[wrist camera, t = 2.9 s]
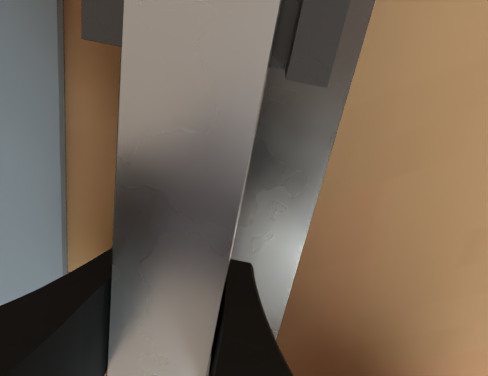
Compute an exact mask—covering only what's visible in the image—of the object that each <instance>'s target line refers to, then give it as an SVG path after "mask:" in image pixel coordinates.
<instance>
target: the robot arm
mask: <svg viewBox="0 0 488 376" xmlns="http://www.w3.org/2000/svg"><path fill="white" fill-rule="evenodd" d="M112 260H113V248H111V249H109V250H108V251H106V252H104V253H103V254H101V255H99V256H98V257H96V258H94V259H93V260H91V261H89V262H88V263H86V264H84V265H82V266H81V267H79V268H77V269H75V270H74V271H72V272H70V273H68V274H66V275H64V276H62V277H60V278H58V279H56V280H55V281H53V282H51V283H49V284H47V285H45V286H43V287H41V288H39V289H37V290H35V291H33V292H31V293H28V294H26V295H24V296H22V297H20V298H17V299H15V300H12V301H10V302H8V303H5V304H3V305H1V306H0V376H104V375H105V373H106V372H107V370H108V350H109V327H110V305H111V283H112ZM209 376H293V374H292V372H291V370H290V368H289V367H288V365H287V363H286V361H285V359H284V357H283V355H282V353H281V351H280V349H279V346H278V344H277V342H276V340H275V337H274V335H273V333H272V330H271V328H270V325H269V323H268V320H267V318H266V315H265V312H264V309H263V306H262V303H261V300H260V297H259V293H258V290H257V286H256V282H255V277H254V270H253V266H252V264H251V263H248V262H243V261H238V260H234V259H230V264H229V269H228V273H227V277H226V282H225V287H224V292H223V297H222V302H221V307H220V312H219V317H218V322H217V327H216V332H215V337H214V342H213V347H212V352H211V360H210V368H209Z"/></svg>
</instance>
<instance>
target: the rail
mask: <svg viewBox="0 0 488 376" xmlns="http://www.w3.org/2000/svg"><path fill="white" fill-rule="evenodd" d="M281 4H282V0H124V14H123V36H122V59H121V81H120V104H119V126H118V148H117V171H116V193H115V215H114V238H113V260H112V283H111V305H110V327H109V350H108V372H107V376H207V374H208V369H209V364H210V359H211V352H212V347H213V342H214V337H215V332H216V327H217V322H218V317H219V312H220V307H221V302H222V297H223V292H224V287H225V282H226V277H227V273H228V269H229V264H230V259H231V254H232V249H233V244H234V239H235V234H236V229H237V224H238V219H239V214H240V209H241V204H242V199H243V194H244V189H245V184H246V179H247V174H248V169H249V164H250V159H251V154H252V149H253V144H254V139H255V134H256V129H257V124H258V119H259V114H260V109H261V104H262V99H263V94H264V89H265V84H266V79H267V74H268V69H269V64H270V59H271V54H272V49H273V44H274V39H275V34H276V29H277V24H278V19H279V14H280V9H281Z"/></svg>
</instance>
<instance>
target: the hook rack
mask: <svg viewBox="0 0 488 376" xmlns="http://www.w3.org/2000/svg"><path fill="white" fill-rule="evenodd" d="M374 3H375V0H282V4H281V9H280V14H279V19H278V24H277V29H276V34H275V39H274V44H273V49H272V54H271V59H270V64H269V69H268V74H267V79H266V84H265V89H264V94H263V99H262V104H261V109H260V114H259V119H258V124H257V129H256V134H255V139H254V144H253V149H252V154H251V159H250V164H249V169H248V174H247V179H246V184H245V189H244V194H243V199H242V204H241V209H240V214H239V219H238V224H237V229H236V234H235V239H234V244H233V249H232V254H231V259H234V260H238V261H243V262H248V263H251V264H252V266H253V270H254V277H255V282H256V286H257V290H258V293H259V297H260V300H261V303H262V306H263V309H264V312H265V315H266V318H267V320H268V323H269V325H270V328H271V330H272V333H273V335H274V337H275V340H276V339H277V335H278V332H279V329H280V325H281V322H282V318H283V315H284V311H285V308H286V305H287V301H288V298H289V294H290V291H291V287H292V284H293V281H294V277H295V274H296V270H297V267H298V263H299V260H300V257H301V253H302V250H303V246H304V243H305V239H306V236H307V233H308V229H309V226H310V222H311V219H312V215H313V212H314V209H315V205H316V202H317V198H318V195H319V191H320V188H321V185H322V181H323V178H324V174H325V171H326V167H327V164H328V161H329V157H330V154H331V150H332V147H333V143H334V140H335V137H336V133H337V130H338V126H339V123H340V119H341V116H342V112H343V109H344V106H345V102H346V99H347V95H348V92H349V88H350V85H351V82H352V78H353V75H354V71H355V68H356V64H357V61H358V58H359V54H360V51H361V47H362V44H363V40H364V37H365V34H366V30H367V27H368V23H369V20H370V16H371V13H372V10H373V6H374ZM123 14H124V0H82V39H85V40H90V41H95V42H100V43H105V44H110V45H115V46H120V47H121V59H122V36H123ZM121 59H120V81H121ZM119 104H120V82H119ZM118 126H119V106H118ZM117 148H118V129H117ZM116 171H117V152H116ZM115 193H116V176H115ZM114 215H115V199H114ZM113 238H114V222H113ZM112 248H113V246H112ZM210 360H211V359H210ZM209 368H210V364H209ZM107 372H108V370H107ZM207 376H209V369H208V374H207Z"/></svg>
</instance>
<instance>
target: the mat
mask: <svg viewBox="0 0 488 376" xmlns="http://www.w3.org/2000/svg"><path fill="white" fill-rule="evenodd" d="M66 274H67V216H66V155H65V94H64V33H63V0H0V306H1V305H3V304H5V303H8V302H10V301H12V300H15V299H17V298H20V297H22V296H24V295H26V294H28V293H31V292H33V291H35V290H37V289H39V288H41V287H43V286H45V285H47V284H49V283H51V282H53V281H55V280H56V279H58V278H60V277H62V276H64V275H66Z"/></svg>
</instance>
